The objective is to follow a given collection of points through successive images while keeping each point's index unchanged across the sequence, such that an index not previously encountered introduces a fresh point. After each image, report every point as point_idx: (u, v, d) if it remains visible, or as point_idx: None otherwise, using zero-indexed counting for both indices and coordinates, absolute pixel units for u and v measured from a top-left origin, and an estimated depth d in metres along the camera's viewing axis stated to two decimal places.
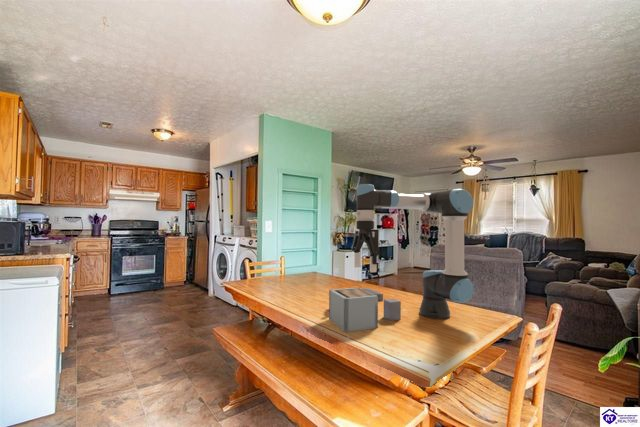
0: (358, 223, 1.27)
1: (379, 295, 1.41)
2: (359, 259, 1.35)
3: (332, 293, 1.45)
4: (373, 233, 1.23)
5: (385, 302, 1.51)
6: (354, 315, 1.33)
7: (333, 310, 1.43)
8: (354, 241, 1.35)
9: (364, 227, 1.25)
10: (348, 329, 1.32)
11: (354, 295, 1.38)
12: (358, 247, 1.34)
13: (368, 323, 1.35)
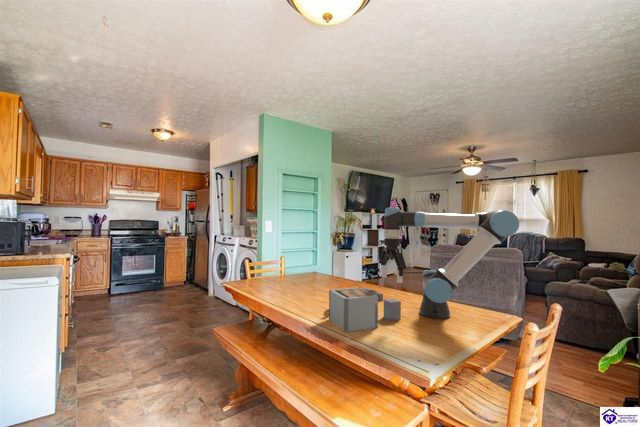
0: (386, 241, 1.50)
1: (379, 295, 1.41)
2: (385, 271, 1.58)
3: (332, 293, 1.45)
4: (400, 250, 1.45)
5: (385, 302, 1.51)
6: (354, 315, 1.33)
7: (333, 310, 1.43)
8: (381, 255, 1.58)
9: (391, 244, 1.48)
10: (348, 329, 1.32)
11: (354, 295, 1.38)
12: (385, 260, 1.56)
13: (368, 323, 1.35)
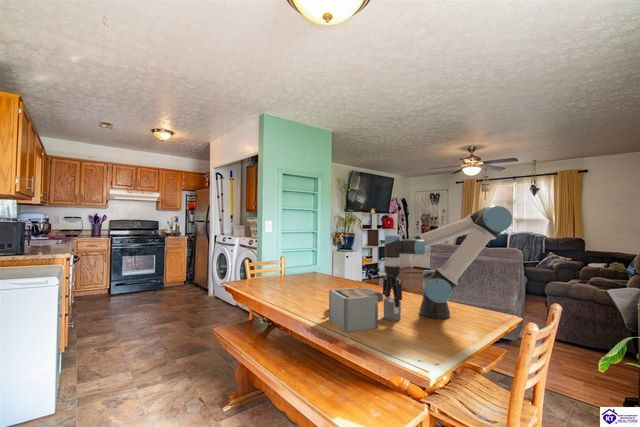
0: (386, 268, 1.49)
1: (379, 295, 1.41)
2: None
3: (332, 293, 1.45)
4: (400, 281, 1.45)
5: (385, 302, 1.51)
6: (354, 315, 1.33)
7: (333, 310, 1.43)
8: (383, 285, 1.56)
9: (392, 272, 1.48)
10: (348, 329, 1.32)
11: (354, 295, 1.38)
12: (388, 290, 1.54)
13: (368, 323, 1.35)
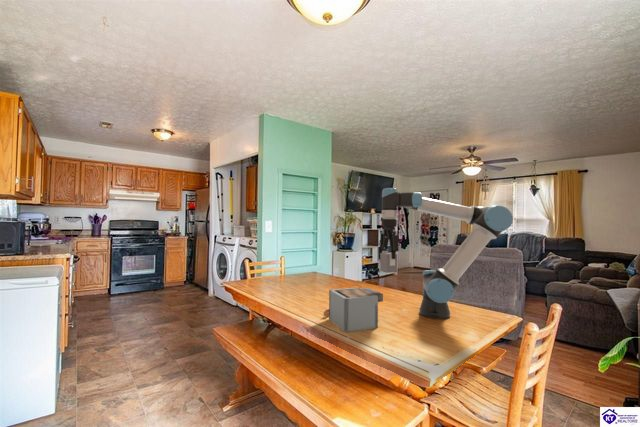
0: (383, 221, 1.49)
1: (379, 295, 1.41)
2: None
3: (332, 293, 1.45)
4: (396, 233, 1.45)
5: (382, 255, 1.51)
6: (354, 315, 1.33)
7: (333, 310, 1.43)
8: (380, 239, 1.56)
9: (388, 224, 1.48)
10: (348, 329, 1.32)
11: (354, 295, 1.38)
12: (385, 244, 1.54)
13: (368, 323, 1.35)
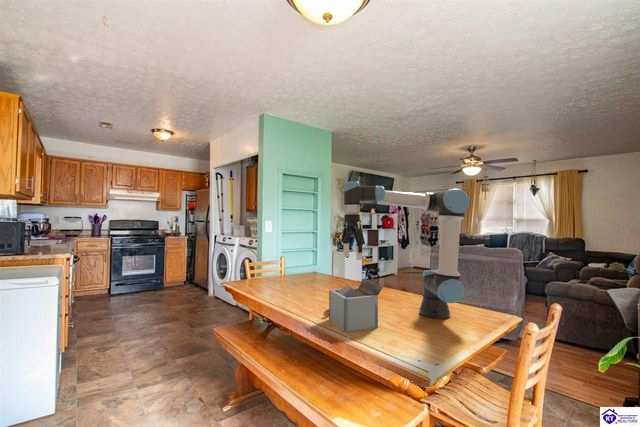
0: (345, 216, 1.42)
1: (376, 287, 1.40)
2: (348, 249, 1.50)
3: (332, 293, 1.45)
4: (358, 225, 1.37)
5: None
6: (354, 315, 1.33)
7: (333, 310, 1.43)
8: (343, 233, 1.50)
9: (351, 220, 1.40)
10: (348, 329, 1.32)
11: None
12: (346, 238, 1.48)
13: (368, 323, 1.35)
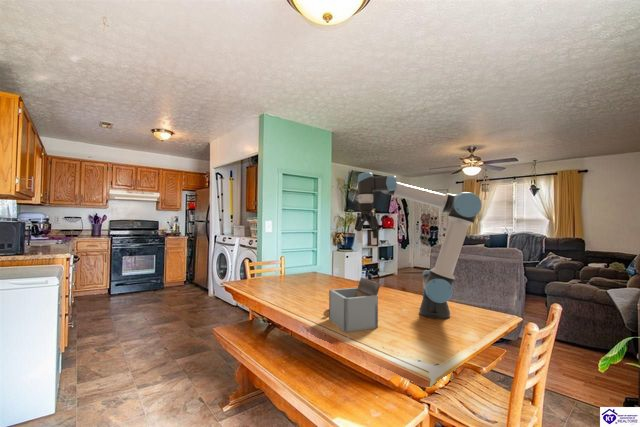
0: (360, 205, 1.53)
1: (374, 286, 1.40)
2: (361, 236, 1.61)
3: (332, 293, 1.45)
4: (373, 213, 1.49)
5: None
6: (354, 315, 1.33)
7: (333, 310, 1.43)
8: (356, 221, 1.61)
9: (365, 208, 1.51)
10: (348, 329, 1.32)
11: None
12: (360, 226, 1.60)
13: (368, 323, 1.35)
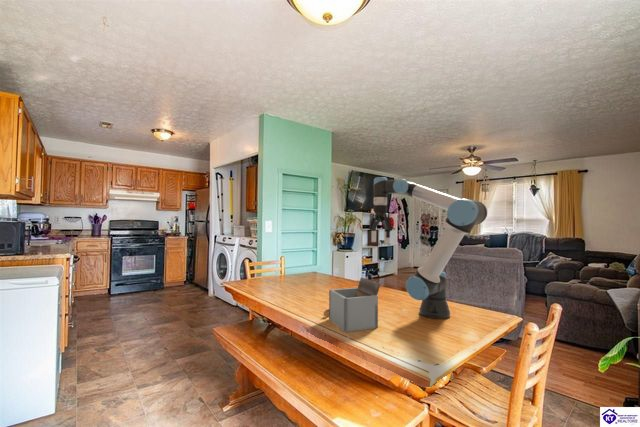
0: (375, 207, 1.66)
1: (374, 286, 1.40)
2: (375, 236, 1.74)
3: (332, 293, 1.45)
4: (387, 214, 1.62)
5: None
6: (354, 315, 1.33)
7: (333, 310, 1.43)
8: (371, 222, 1.75)
9: (380, 210, 1.64)
10: (348, 329, 1.32)
11: None
12: (374, 226, 1.73)
13: (368, 323, 1.35)
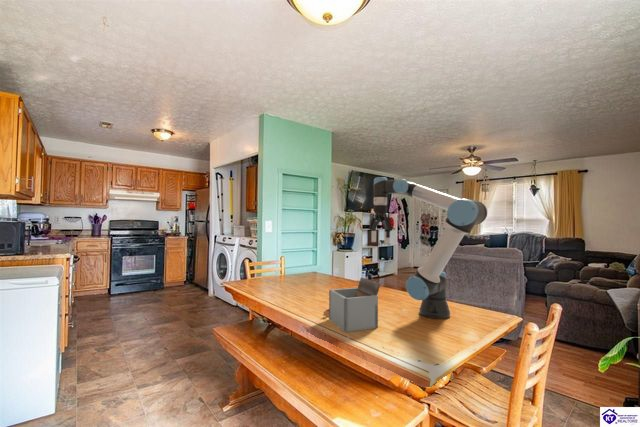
0: (375, 207, 1.66)
1: (374, 286, 1.40)
2: (375, 236, 1.74)
3: (332, 293, 1.45)
4: (387, 214, 1.62)
5: None
6: (354, 315, 1.33)
7: (333, 310, 1.43)
8: (371, 222, 1.75)
9: (380, 210, 1.64)
10: (348, 329, 1.32)
11: None
12: (374, 226, 1.73)
13: (368, 323, 1.35)
